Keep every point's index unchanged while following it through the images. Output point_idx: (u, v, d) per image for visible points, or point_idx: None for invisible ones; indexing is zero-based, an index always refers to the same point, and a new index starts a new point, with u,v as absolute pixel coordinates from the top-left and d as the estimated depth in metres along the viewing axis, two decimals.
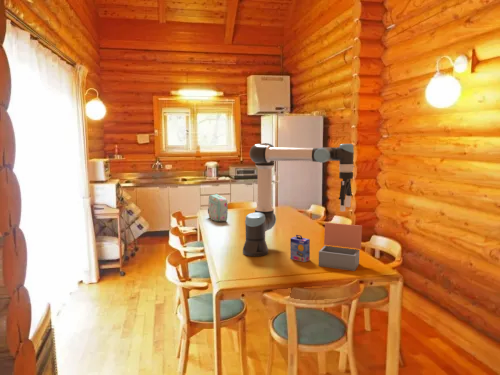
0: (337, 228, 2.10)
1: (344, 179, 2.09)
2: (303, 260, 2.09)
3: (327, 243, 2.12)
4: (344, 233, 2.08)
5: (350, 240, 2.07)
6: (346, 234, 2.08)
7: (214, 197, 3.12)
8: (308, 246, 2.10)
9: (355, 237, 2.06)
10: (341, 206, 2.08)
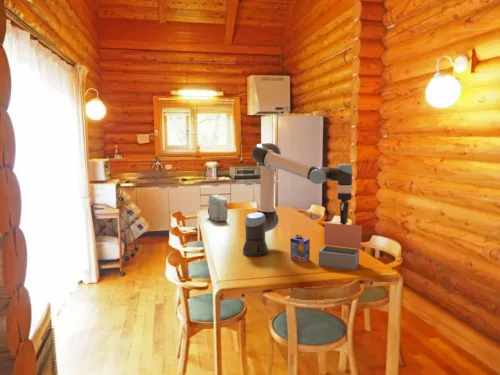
0: (337, 228, 2.09)
1: (343, 200, 2.06)
2: (303, 260, 2.09)
3: (327, 243, 2.12)
4: (344, 233, 2.08)
5: (350, 240, 2.07)
6: (346, 234, 2.07)
7: (214, 197, 3.12)
8: (308, 246, 2.10)
9: (355, 237, 2.05)
10: None
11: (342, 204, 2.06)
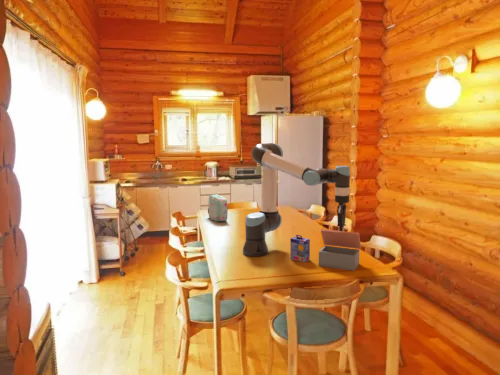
0: (334, 234, 2.04)
1: (340, 203, 2.00)
2: (303, 260, 2.09)
3: (327, 244, 2.12)
4: (342, 238, 2.04)
5: (349, 243, 2.05)
6: (344, 239, 2.04)
7: (214, 197, 3.12)
8: (308, 246, 2.10)
9: (353, 241, 2.02)
10: None
11: (339, 207, 2.00)
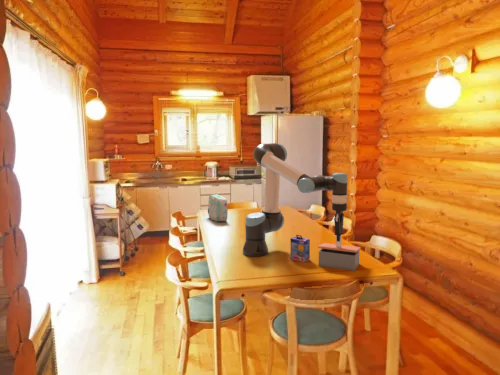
0: None
1: (337, 211, 1.95)
2: (303, 260, 2.09)
3: None
4: None
5: (348, 248, 2.03)
6: None
7: (214, 197, 3.12)
8: (308, 246, 2.10)
9: None
10: (337, 242, 2.00)
11: (337, 215, 1.95)
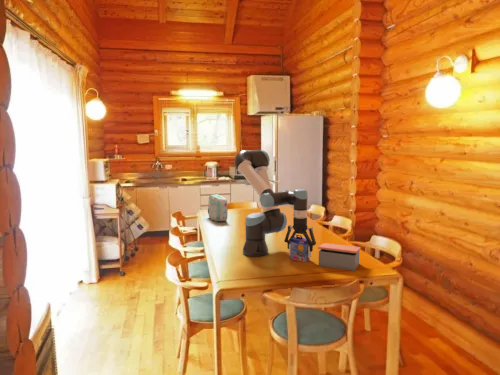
0: None
1: None
2: (303, 260, 2.09)
3: None
4: None
5: None
6: None
7: (214, 197, 3.12)
8: None
9: None
10: None
11: (293, 225, 2.13)
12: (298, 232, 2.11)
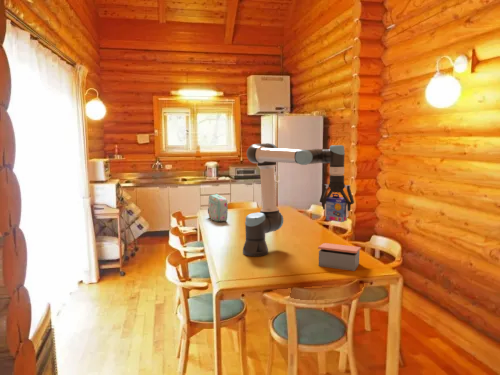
0: None
1: None
2: (340, 220, 1.97)
3: None
4: None
5: None
6: None
7: (214, 197, 3.12)
8: (345, 205, 1.98)
9: None
10: None
11: None
12: (335, 191, 1.99)
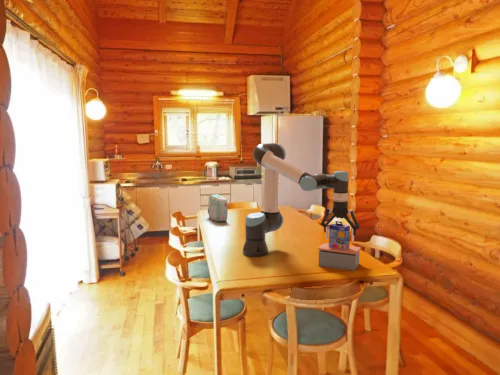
0: None
1: None
2: (343, 248, 1.99)
3: None
4: None
5: None
6: None
7: (214, 197, 3.12)
8: (348, 233, 2.00)
9: None
10: None
11: None
12: (338, 216, 2.00)
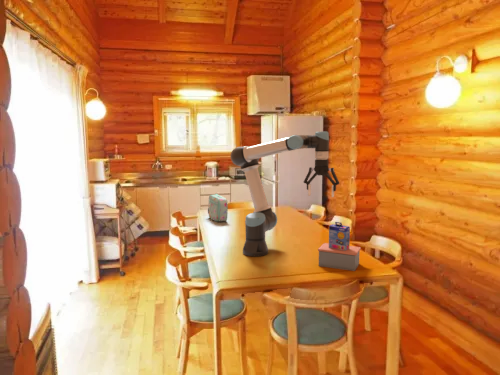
0: None
1: None
2: (343, 248, 1.99)
3: None
4: None
5: None
6: None
7: (214, 197, 3.12)
8: (348, 234, 2.00)
9: None
10: None
11: None
12: (319, 174, 2.15)
